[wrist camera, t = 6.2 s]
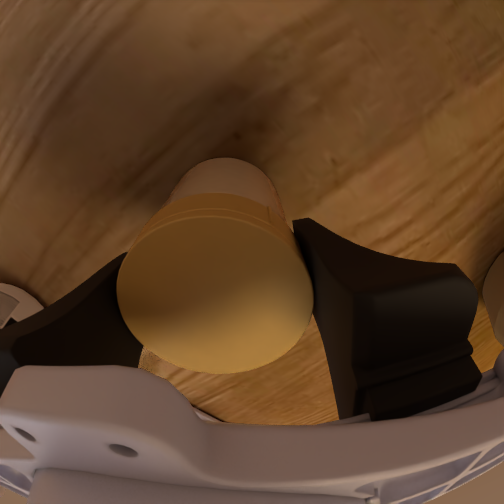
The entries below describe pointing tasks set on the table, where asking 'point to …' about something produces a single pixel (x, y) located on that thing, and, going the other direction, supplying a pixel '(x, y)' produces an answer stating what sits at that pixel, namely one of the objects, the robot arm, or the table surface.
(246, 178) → the jar
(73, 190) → the table surface
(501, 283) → the squeeze bottle
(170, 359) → the lid
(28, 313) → the supplement can
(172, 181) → the table surface
